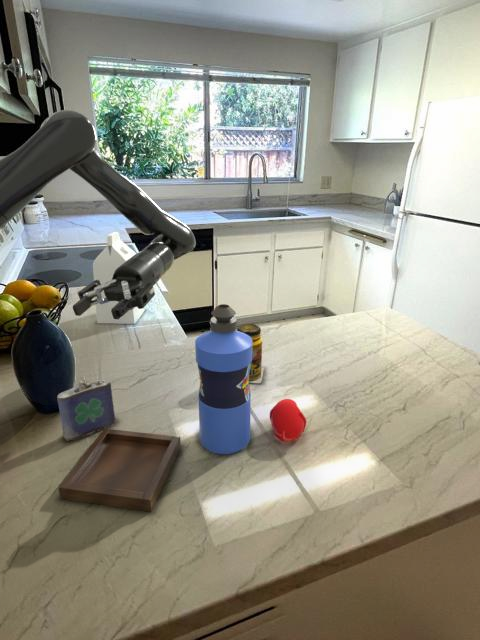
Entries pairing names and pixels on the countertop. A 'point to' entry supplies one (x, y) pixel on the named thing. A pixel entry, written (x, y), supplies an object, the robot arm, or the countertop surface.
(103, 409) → the flask
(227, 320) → the water bottle
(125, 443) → the tray
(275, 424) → the cap
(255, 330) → the condiment
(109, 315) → the milk
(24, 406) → the countertop surface
